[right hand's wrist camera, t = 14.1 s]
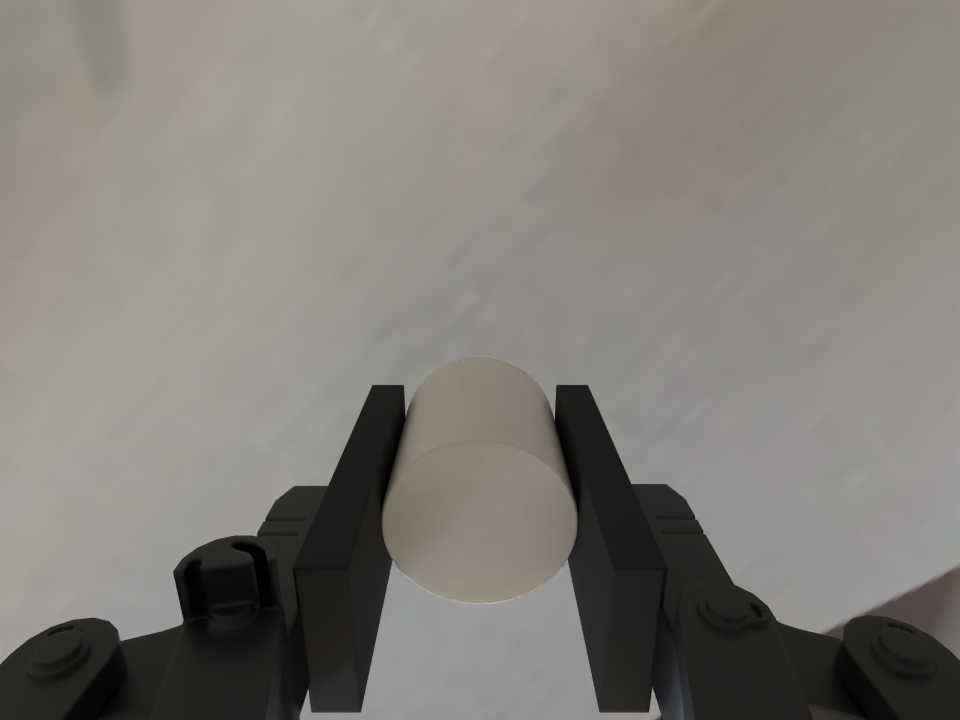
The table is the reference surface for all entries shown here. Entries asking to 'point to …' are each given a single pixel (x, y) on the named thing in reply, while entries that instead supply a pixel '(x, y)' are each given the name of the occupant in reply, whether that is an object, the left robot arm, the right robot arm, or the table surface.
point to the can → (479, 486)
